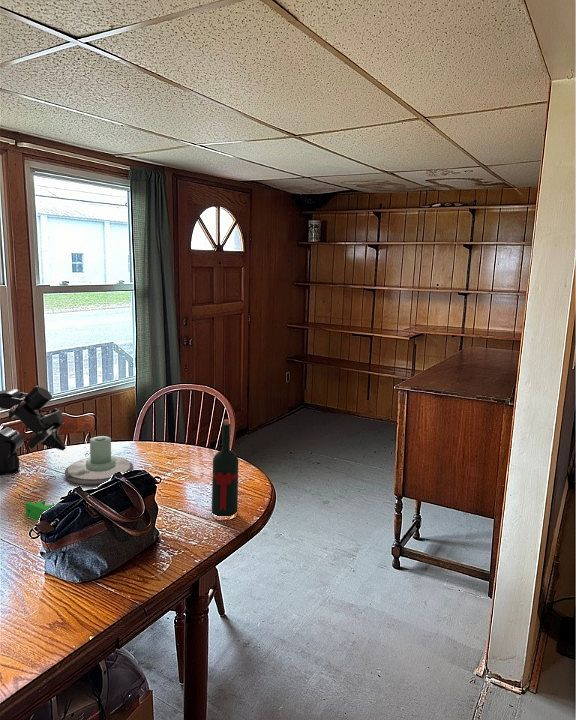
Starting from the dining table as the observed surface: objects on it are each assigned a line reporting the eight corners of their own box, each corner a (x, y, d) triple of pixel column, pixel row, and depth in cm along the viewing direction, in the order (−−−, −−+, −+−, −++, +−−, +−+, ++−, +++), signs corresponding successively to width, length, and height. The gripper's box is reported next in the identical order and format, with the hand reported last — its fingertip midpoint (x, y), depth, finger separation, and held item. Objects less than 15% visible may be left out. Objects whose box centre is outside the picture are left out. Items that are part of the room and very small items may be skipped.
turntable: (76, 491, 167) (76, 484, 167) (56, 469, 185) (56, 462, 184) (143, 476, 182) (143, 469, 181) (119, 456, 199) (119, 450, 199)
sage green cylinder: (91, 473, 176) (91, 445, 175) (81, 464, 184) (81, 437, 182) (120, 467, 183) (119, 440, 181) (109, 458, 190) (108, 432, 188)
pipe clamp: (63, 521, 148) (62, 506, 148) (52, 527, 145) (51, 512, 144) (36, 511, 153) (36, 497, 152) (25, 517, 150) (25, 502, 149)
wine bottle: (208, 524, 150) (210, 426, 145) (213, 508, 160) (214, 416, 155) (235, 525, 150) (238, 427, 145) (238, 509, 160) (240, 416, 155)
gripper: (35, 410, 169) (70, 443, 171) (57, 396, 187) (89, 426, 190) (12, 432, 170) (47, 465, 172) (36, 416, 188) (68, 446, 191)
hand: (64, 449), depth 181 cm, fingers closed
